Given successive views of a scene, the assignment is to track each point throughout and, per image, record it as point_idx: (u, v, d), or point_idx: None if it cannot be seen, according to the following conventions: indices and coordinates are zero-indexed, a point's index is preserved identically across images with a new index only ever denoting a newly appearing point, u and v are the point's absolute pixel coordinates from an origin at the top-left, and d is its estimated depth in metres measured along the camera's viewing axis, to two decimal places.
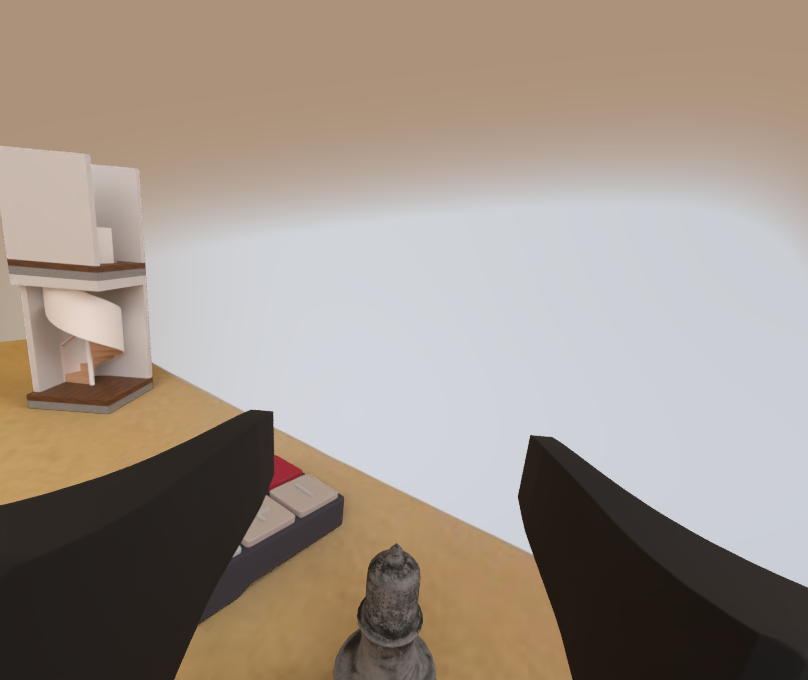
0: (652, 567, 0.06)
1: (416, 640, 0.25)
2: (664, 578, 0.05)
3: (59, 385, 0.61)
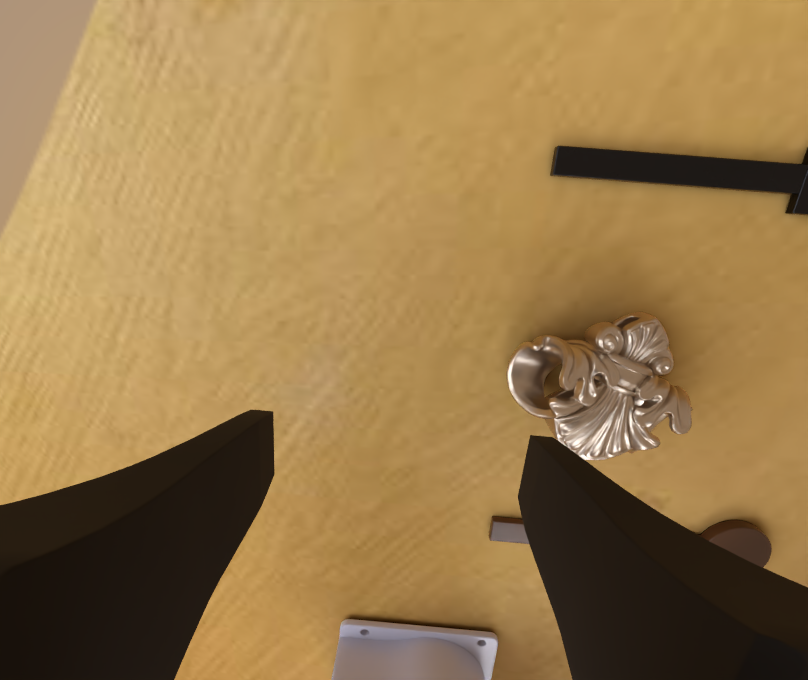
0: (652, 567, 0.06)
1: None
2: (663, 578, 0.05)
3: None
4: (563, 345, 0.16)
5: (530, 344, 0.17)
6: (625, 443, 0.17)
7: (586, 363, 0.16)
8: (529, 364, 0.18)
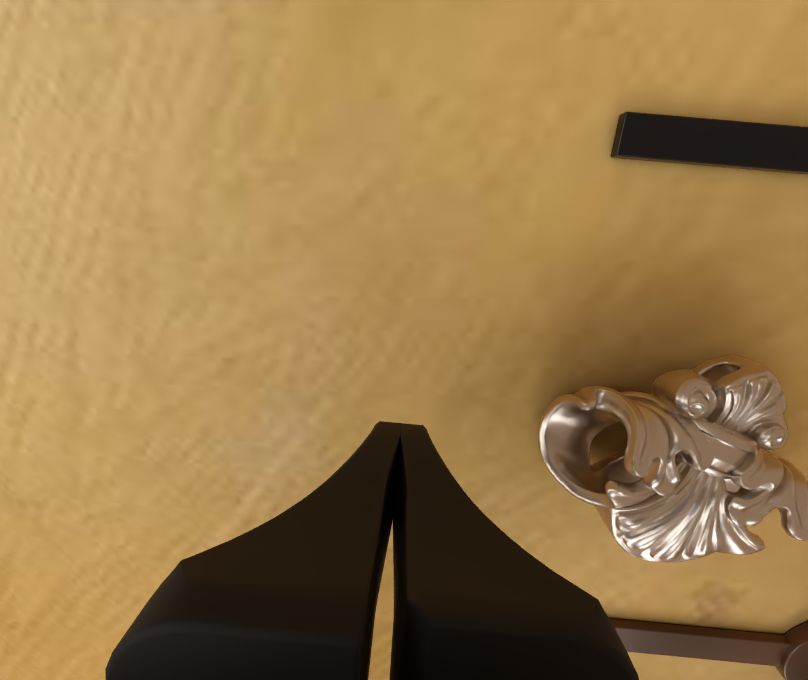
0: None
1: None
2: (405, 553, 0.05)
3: None
4: (628, 406, 0.11)
5: (577, 400, 0.12)
6: (712, 543, 0.12)
7: (665, 437, 0.11)
8: (571, 423, 0.13)
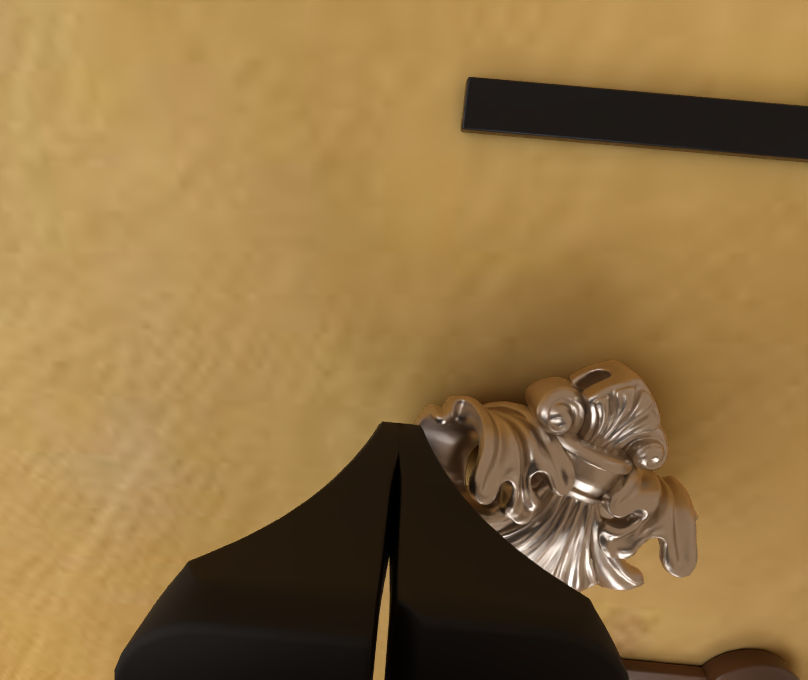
0: None
1: None
2: (398, 552, 0.05)
3: None
4: (481, 420, 0.10)
5: (433, 412, 0.10)
6: (588, 576, 0.10)
7: (516, 457, 0.09)
8: (440, 437, 0.12)
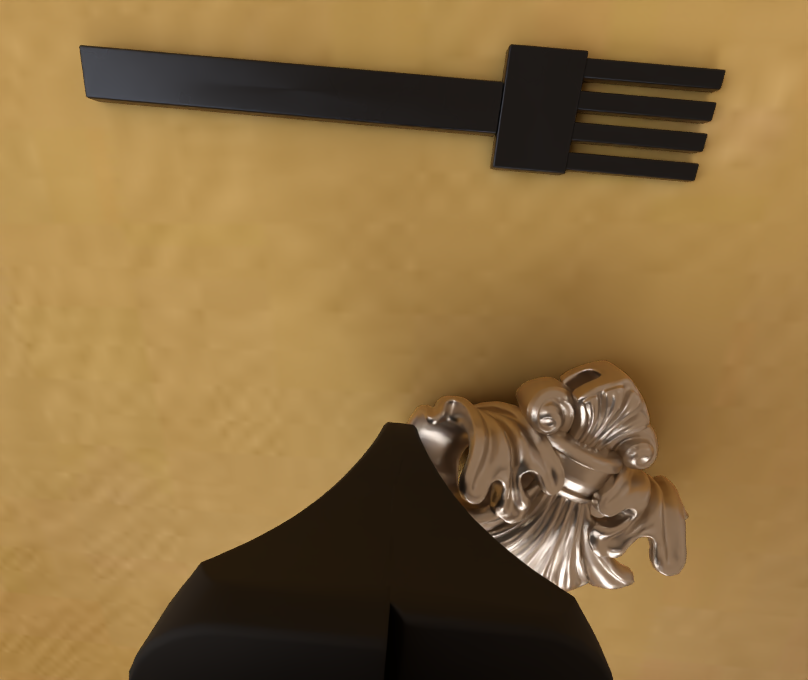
0: None
1: None
2: (386, 551, 0.05)
3: None
4: (472, 420, 0.10)
5: (424, 412, 0.10)
6: (579, 575, 0.10)
7: (506, 456, 0.09)
8: (433, 437, 0.12)
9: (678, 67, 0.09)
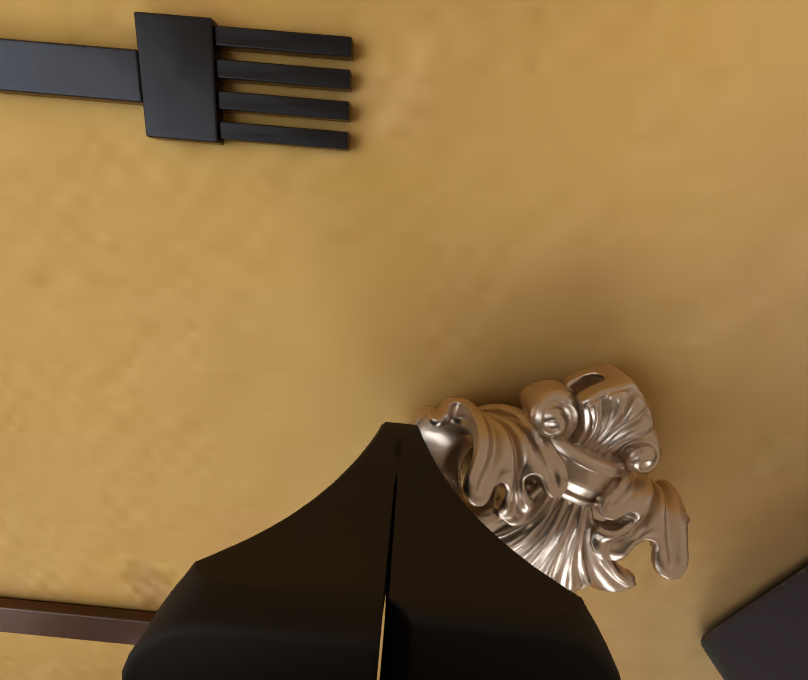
0: None
1: None
2: (392, 552, 0.05)
3: None
4: (476, 422, 0.10)
5: (428, 414, 0.10)
6: (580, 578, 0.10)
7: (510, 459, 0.09)
8: (436, 439, 0.12)
9: (303, 34, 0.09)
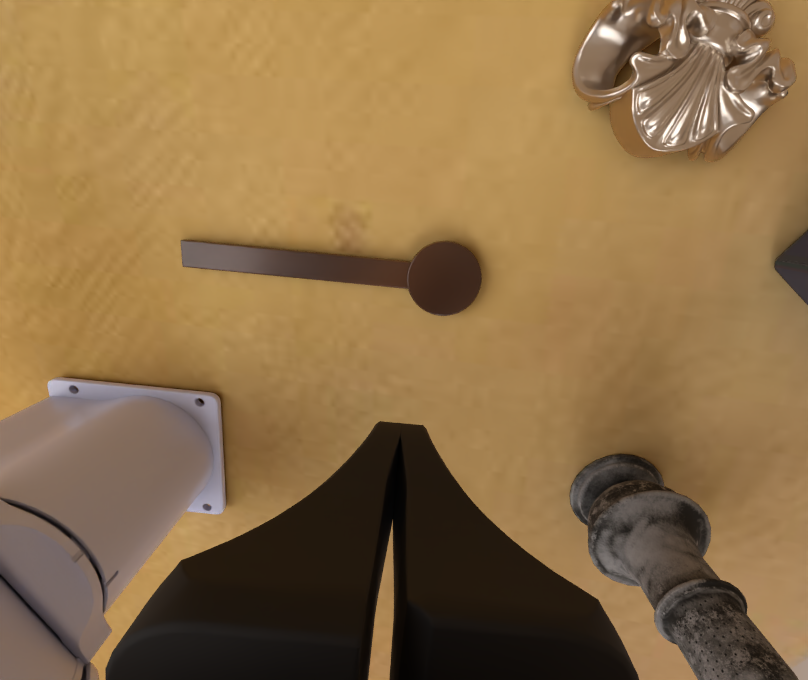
0: None
1: None
2: (405, 553, 0.05)
3: None
4: None
5: (607, 5, 0.15)
6: (713, 121, 0.15)
7: None
8: (600, 51, 0.16)
9: None
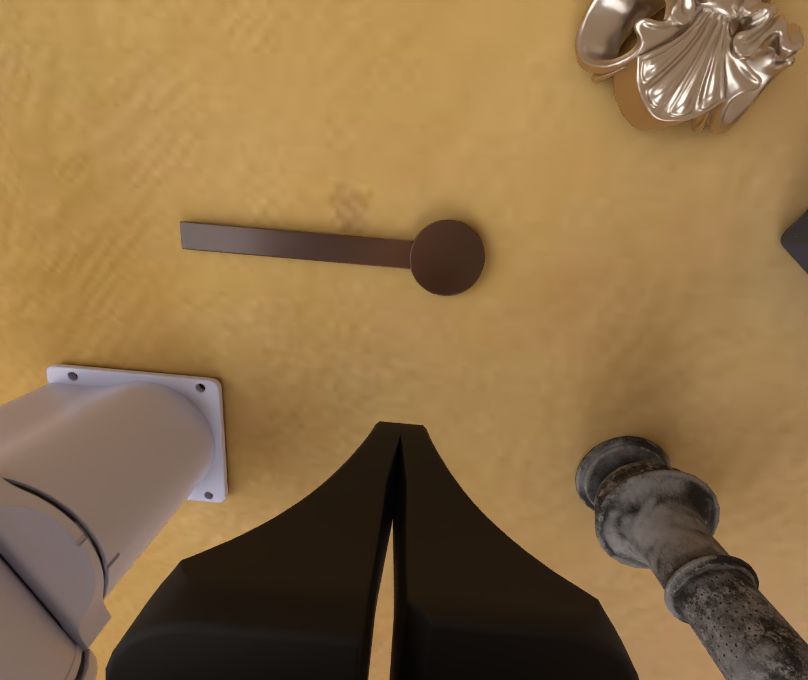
0: None
1: None
2: (405, 554, 0.05)
3: None
4: None
5: None
6: (719, 89, 0.15)
7: None
8: (603, 22, 0.16)
9: None
